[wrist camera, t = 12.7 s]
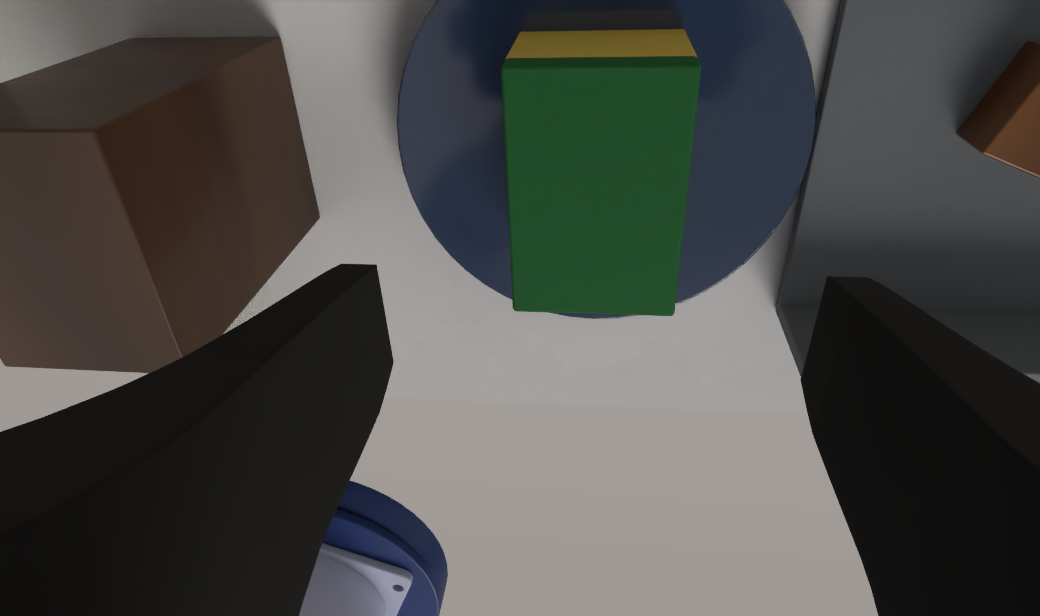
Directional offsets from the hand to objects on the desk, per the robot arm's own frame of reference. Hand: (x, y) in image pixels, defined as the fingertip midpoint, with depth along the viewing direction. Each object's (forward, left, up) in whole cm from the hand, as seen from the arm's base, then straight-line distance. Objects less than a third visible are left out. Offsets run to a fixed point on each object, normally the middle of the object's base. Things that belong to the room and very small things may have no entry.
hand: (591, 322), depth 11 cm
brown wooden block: (-4, +10, -9) cm, 14 cm away
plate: (0, 0, -9) cm, 9 cm away
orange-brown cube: (+5, -10, -9) cm, 14 cm away
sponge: (0, 0, -8) cm, 8 cm away
